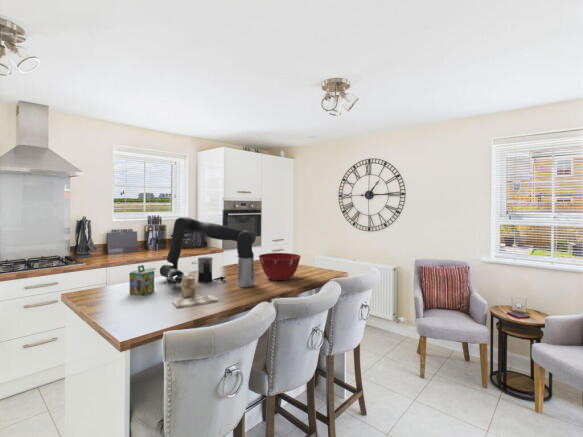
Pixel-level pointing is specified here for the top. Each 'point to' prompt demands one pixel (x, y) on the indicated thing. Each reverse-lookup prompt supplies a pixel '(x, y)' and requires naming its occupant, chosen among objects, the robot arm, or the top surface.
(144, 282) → the green patterned box
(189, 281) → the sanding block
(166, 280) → the robot arm
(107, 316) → the top surface
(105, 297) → the top surface
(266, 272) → the mixing bowl
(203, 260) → the milk frother
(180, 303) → the board
